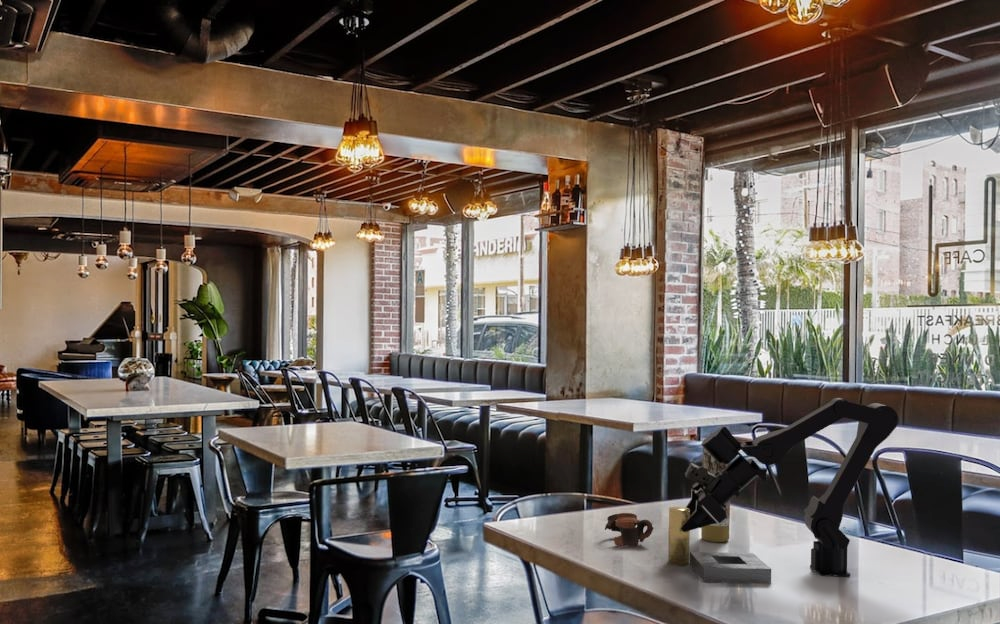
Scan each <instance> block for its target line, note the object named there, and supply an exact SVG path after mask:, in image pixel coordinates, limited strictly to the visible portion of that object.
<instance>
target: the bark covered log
mask: <svg viewBox="0 0 1000 624" xmlns="http://www.w3.org/2000/svg"><path fill="white" fill-rule="evenodd" d="M706 438H707V437H703V438H702V442H703V441H704V440H705V439H706ZM730 463H732V461H731V462H729V463H728V464H724V463H723V462H722V463H720V464H718V462H717V461H716V460H715V459H714V458H713V457H712V456H711V455H710V454H709V453H708V452H707V451H706V450H705V449H704V448H703V447H702V467H704V468H707V469H708V472H710V473H712V474H714V473H715V472H717V471H718V472H719V471H720V472H721V471H723V470H724V469H725V468H726V467H727V466H728V465H729V464H730ZM725 505H726V507H725V508H724V509H725V510H726V518H725V519H724V520H723V521H722V522H721V523H719V522H718V521H717V520H716V519H715V520H716V521H717V523H716V524H711V525H707V526H704V527H700V528H701V534H700V535H701V538H702V539H703V540H705V541H707V542H711V543H726V542H728V541H729V540H730V523H731V522H730V519H731V518H730V516H731V500H729V501H728V502H727V503H726V504H725Z"/></svg>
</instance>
